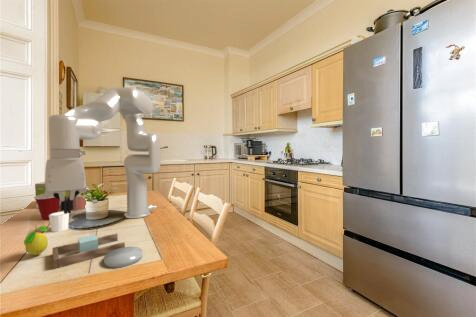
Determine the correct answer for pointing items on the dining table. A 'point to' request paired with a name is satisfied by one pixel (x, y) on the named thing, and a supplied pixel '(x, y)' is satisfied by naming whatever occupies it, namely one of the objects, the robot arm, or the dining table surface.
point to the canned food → (77, 201)
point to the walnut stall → (84, 255)
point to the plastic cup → (47, 205)
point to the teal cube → (87, 243)
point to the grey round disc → (122, 257)
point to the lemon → (36, 241)
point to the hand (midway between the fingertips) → (67, 212)
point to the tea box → (42, 190)
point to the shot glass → (59, 221)
